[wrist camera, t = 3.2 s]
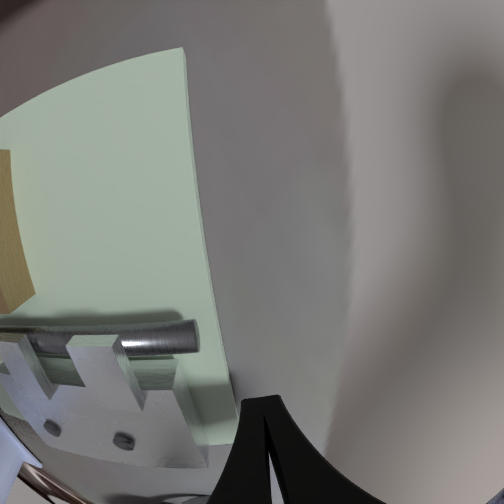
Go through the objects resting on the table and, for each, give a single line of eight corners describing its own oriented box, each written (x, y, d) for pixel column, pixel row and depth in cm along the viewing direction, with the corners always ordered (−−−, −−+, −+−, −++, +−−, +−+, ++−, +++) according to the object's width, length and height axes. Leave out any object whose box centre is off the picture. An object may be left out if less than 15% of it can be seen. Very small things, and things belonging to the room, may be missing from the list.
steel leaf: (56, 426, 10) (43, 453, 7) (-8, 313, 8) (-35, 336, 5) (208, 441, 10) (208, 479, 8) (163, 305, 8) (146, 346, 6)
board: (9, 406, 10) (4, 413, 10) (-68, 180, 6) (-76, 182, 5) (241, 430, 11) (243, 442, 11) (185, 57, 7) (182, 47, 6)
